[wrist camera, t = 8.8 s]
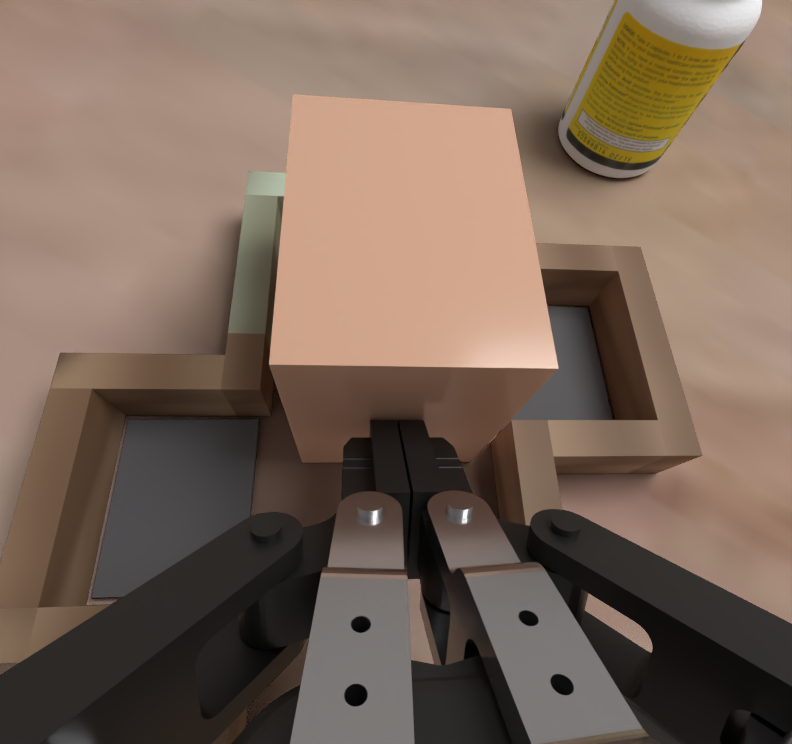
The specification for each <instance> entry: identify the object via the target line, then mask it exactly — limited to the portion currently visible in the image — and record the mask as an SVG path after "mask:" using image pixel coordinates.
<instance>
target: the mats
mask: <svg viewBox="0 0 792 744" xmlns="http://www.w3.org/2000/svg"><path fill="white" fill-rule="evenodd" d="M547 308H548V314H549V319H550V324H551V330H552V335H553V341H554V346H555V352H556V357H557V363H558V368H559V369H558V370H557V371H556V372H555V373H554V374H553V375H552V376H551V377H550V378H549V379H548V380H547V382H546V383H545V384H544V385H543V386H542V387H541V388H540V389H539V390H538V391H537V392H536V393H535V394H534V395H533V396H532V397H531V398H530V400H529V401H528V402H527V403H526V404H525V405H524V406H523V407H522V408H521V409H520V410H519V411H518V412H517V413H516V414H515V415H514V417H513V418H512V419H511V420H613V419H612V415H611V410H610V406H609V401H608V397H607V393H606V388H605V384H604V379H603V375H602V370H601V366H600V362H599V357H598V353H597V348H596V344H595V339H594V335H593V331H592V326H591V322H590V317H589V313H588V308H587V307H548V306H547ZM511 420H510V421H511ZM510 421H509V422H510ZM509 422H508V423H509ZM508 423H507V424H508ZM507 424H506V425H507ZM506 425H505V426H506ZM505 426H504V427H505ZM504 427H503V428H502V429H501V430H500V432H501V431H502V430H503V429H504ZM258 431H259V420H258V419H128V423H127V428H126V433H125V438H124V443H123V447H122V452H121V457H120V462H119V467H118V472H117V476H116V481H115V486H114V491H113V496H112V501H111V505H110V510H109V515H108V520H107V525H106V530H105V534H104V539H103V544H102V549H101V554H100V559H99V563H98V568H97V573H96V578H95V583H94V588H93V592H92V597H91V598H103V597H124V596H125V595H127V594H128V593H130V592H131V591H133V590H135V589H136V588H138V587H139V586H141V585H142V584H144V583H146V582H147V581H149V580H150V579H152V578H153V577H155V576H157V575H158V574H160V573H161V572H163V571H164V570H166V569H168V568H169V567H171V566H172V565H174V564H175V563H177V562H179V561H180V560H182V559H183V558H185V557H186V556H188V555H190V554H191V553H193V552H194V551H196V550H197V549H199V548H201V547H202V546H204V545H205V544H207V543H208V542H210V541H212V540H213V539H215V538H216V537H218V536H219V535H221V534H223V533H224V532H226V531H227V530H229V529H230V528H232V527H234V526H235V525H237V524H238V523H240V522H241V521H243V520H245V519H247V518H249V517H251V509H252V497H253V486H254V475H255V464H256V453H257V442H258Z"/></svg>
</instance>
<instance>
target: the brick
mask: <svg viewBox="0 0 792 744" xmlns="http://www.w3.org/2000/svg"><path fill="white" fill-rule="evenodd" d="M269 366H270V369H271V372H272V375H273V378H274V381H275V384H276V387H277V390H278V393H279V396H280V398H281V401H282V404H283V407H284V410H285V413H286V416H287V419H288V422H289V425H290V428H291V431H292V434H293V437H294V440H295V443H296V446H297V449H298V452H299V455H300V458H301V460H302V463H317V462H343V447H344V445H345V444H346V443H347V442H348V441H349V440H350V438H351V437H369V434H370V420H396V421H397V422H398V420H424V422H425V425H426V428H427V431H428V434H429V437H443V438H444V439H445V440H447V441H448V442H449V443H450V444H451V445H453V446H454V448H455V450H456V453H457V455H458V459H459V460H460V462H471V461H472V460H473V459H474V458H475V457H476V456H477V455H478V454H479V453H480V452H481V450H482V449H483V448H484V447H485V446H486V445H487V444H488V443H489V442H490V441H491V440H492V439H493V438H494V437H495V436H496V435H497V433H498V432H499V431H500V430H501V429H502V428H503V427H504V426H505V425H506V424H507V423H508V422H509V421H510V420H511V419H512V418H513V417H514V415H515V414H516V413H517V412H518V411H519V410H520V409H521V408H522V407H523V406H524V405H525V404H526V403H527V402H528V401H529V400H530V398H531V397H532V396H533V395H534V394H535V393H536V392H537V391H538V390H539V389H540V388H541V387H542V386H543V385H544V384H545V383H546V382H547V380H548V379H549V378H550V377H551V376H552V375H553V374H554V373H555V372H556V371H557V370H558V369H559V368H558V363H557V357H556V352H555V346H554V341H553V335H552V330H551V324H550V319H549V314H548V308H547V303H546V297H545V292H544V286H543V281H542V275H541V270H540V264H539V259H538V253H537V248H536V242H535V237H534V231H533V226H532V221H531V215H530V210H529V204H528V199H527V193H526V188H525V182H524V177H523V171H522V166H521V160H520V155H519V149H518V144H517V139H516V133H515V128H514V122H513V117H512V111H511V109H504V108H489V107H474V106H459V105H444V104H429V103H414V102H399V101H384V100H369V99H354V98H339V97H324V96H309V95H294V94H293V101H292V112H291V124H290V135H289V146H288V157H287V168H286V180H285V191H284V202H283V213H282V224H281V236H280V247H279V258H278V269H277V280H276V292H275V303H274V314H273V325H272V336H271V348H270V359H269Z"/></svg>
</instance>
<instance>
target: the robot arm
mask: <svg viewBox="0 0 792 744" xmlns="http://www.w3.org/2000/svg"><path fill="white" fill-rule="evenodd" d="M407 577H408V579H420V584H421V595H420V611H421V615H422V619H423V622H424V626H425V630H426V634H427V638H428V642H429V646H430V650H431V654H432V657H433V661H434V665H433V664H428V663H423V662H418V661H413V660H411V650H410V627H409V604H408V580H407ZM588 593H589V594H591V595H593V596H594V597H596V598H597V599H599V600H601V601H602V602H604V603H606V604H607V605H609V606H610V607H612V608H614V609H615V610H617V611H618V612H620V613H622V614H623V615H625V616H627V617H628V618H630V619H631V620H633V621H635V622H636V623H638V624H639V625H640V626H641V627H642V628H643V629H644V630H645V631H646V632H647V633H648V635H649V637H650V639H651V641H652V645H653V650H652V653H650V652H648V651H646V650H645V649H643V648H642V647H640V646H639V645H637V644H635V643H634V642H632V641H631V640H629V639H628V638H626V637H625V636H623V635H622V634H620V633H618V632H617V631H615V630H614V629H612V628H611V627H609V626H608V625H606V624H605V623H603V622H602V621H600V620H598V619H597V618H595V617H594V616H592V615H591V614H589V613H588V612H586V611H585V606H586V601H587V597H588ZM308 638H309V643H308V648H307V654H306V659H305V665H304V670H303V675H302V681H301V685H299V686H297V687H295V688H293V689H292V690H290V691H288V692H286V693H285V694H283V695H281V696H280V697H279V698H277V699H276V700H274V701H273V702H272V703H270V704H269V705H268V706H267V707H266V708H265V709H264V710H262V711H261V712H260V713H259V714H258V715H257V716H256V717H255V718H254V719H253V720H252V721H251V722H250V723H249V724H248V725H247V726H246V728H245V729H244V730H243V731H242V732H241V733H240V734H239V736H238V737H237V738H236V739H235V740H234V741H233V742H232V743H231V744H792V624H791V623H789V622H787V621H785V620H783V619H781V618H779V617H777V616H775V615H773V614H771V613H769V612H768V611H766V610H764V609H762V608H760V607H758V606H756V605H754V604H752V603H750V602H748V601H746V600H744V599H742V598H740V597H738V596H736V595H734V594H732V593H730V592H728V591H726V590H725V589H723V588H721V587H719V586H717V585H715V584H713V583H711V582H709V581H707V580H705V579H703V578H701V577H699V576H697V575H695V574H693V573H691V572H689V571H687V570H685V569H683V568H682V567H680V566H678V565H676V564H674V563H672V562H670V561H668V560H666V559H664V558H662V557H660V556H658V555H656V554H654V553H652V552H650V551H648V550H646V549H644V548H642V547H641V546H639V545H637V544H635V543H633V542H631V541H629V540H627V539H625V538H623V537H621V536H619V535H617V534H615V533H613V532H611V531H609V530H607V529H605V528H603V527H601V526H599V525H598V524H596V523H594V522H592V521H590V520H588V519H586V518H584V517H582V516H580V515H578V514H575V513H572V512H569V511H566V510H560V509H546V510H542V511H539V512H537V513H535V514H534V515H533V517H532V518H531V522H530V526H528V525H523V524H518V523H513V522H508V521H504V520H501V519H498V518H496V517H495V515H494V514H493V512H492V510H491V508H490V507H489V505H488V504H487V503H486V502H485V501H484V500H483V499H482V498H480V497H478V496H476V495H474V494H473V493H472V490H471V488H470V485H469V483H468V480H467V478H466V475H465V473H464V470H463V468H462V465H461V463H460V460H459V459H458V455H457V453H456V450H455V448H454V446H453V445H451V444H450V443H449V442H448V441H447V440H445V439H444V438H443V437H429V434H428V431H427V428H426V425H425V422H424V420H398V422H397V421H396V420H370V434H369V437H351V438H350V440H349V441H348V442H347V443H346V444H345V445H344V447H343V470H342V499H341V502H340V504H339V505H338V508H337V513H336V514H335V515H334V516H333V517H331V518H330V519H328V520H326V521H325V522H322V523H320V524H317V525H313V526H309V527H305V528H302V526H301V524H300V522H299V521H298V520H297V519H296V518H294V517H292V516H290V515H288V514H284V513H278V512H269V513H261V514H257V515H254V516H251V517H249V518H247V519H245V520H243V521H241V522H240V523H238V524H237V525H235V526H234V527H232V528H230V529H229V530H227V531H226V532H224V533H223V534H221V535H219V536H218V537H216V538H215V539H213V540H212V541H210V542H208V543H207V544H205V545H204V546H202V547H201V548H199V549H197V550H196V551H194V552H193V553H191V554H190V555H188V556H186V557H185V558H183V559H182V560H180V561H179V562H177V563H175V564H174V565H172V566H171V567H169V568H168V569H166V570H164V571H163V572H161V573H160V574H158V575H157V576H155V577H153V578H152V579H150V580H149V581H147V582H146V583H144V584H142V585H141V586H139V587H138V588H136V589H135V590H133V591H131V592H130V593H128V594H127V595H125V596H124V597H122V598H120V599H119V600H117V601H116V602H114V603H113V604H111V605H109V606H108V607H106V608H105V609H103V610H102V611H100V612H98V613H97V614H95V615H94V616H92V617H91V618H89V619H87V620H86V621H84V622H83V623H81V624H80V625H78V626H76V627H75V628H73V629H72V630H70V631H69V632H67V633H65V634H64V635H62V636H61V637H59V638H58V639H56V640H54V641H53V642H51V643H50V644H48V645H47V646H45V647H43V648H42V649H40V650H39V651H37V652H36V653H34V654H32V655H31V656H29V657H28V658H26V659H25V660H23V661H21V662H20V663H18V664H17V665H15V666H14V667H12V668H10V669H9V670H7V671H6V672H4V673H3V674H1V675H0V744H212V743H213V742H214V741H215V740H216V739H217V738H218V737H219V736H220V735H221V734H222V733H223V732H224V731H225V730H226V729H227V728H228V726H229V725H230V724H231V723H232V722H233V721H234V720H235V719H236V718H237V717H238V716H239V715H240V714H241V713H242V712H243V711H244V710H245V709H246V708H247V707H248V706H249V705H250V704H251V703H252V702H253V701H254V700H255V699H256V698H257V697H258V696H259V695H260V694H261V693H262V692H263V690H264V689H265V688H266V687H267V686H268V685H269V684H270V683H271V682H272V681H273V680H274V679H275V678H276V677H277V676H278V675H279V674H280V673H281V672H282V671H283V670H284V669H285V668H286V667H287V666H288V665H289V664H290V663H291V662H292V661H293V660H294V659H295V658H296V657H297V655H298V654H299V653H300V651H301V650H302V648H303V646H304V643H305V639H308Z"/></svg>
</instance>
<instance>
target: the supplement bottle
mask: <svg viewBox="0 0 792 744" xmlns="http://www.w3.org/2000/svg"><path fill="white" fill-rule="evenodd" d="M761 8H762V0H614V2H613V4H612V7H611V9H610V11H609V13H608V16H607V18H606V20H605V22H604V24H603V26H602V29H601V31H600V33H599V35H598V37H597V39H596V42H595V44H594V46H593V48H592V51H591V53H590V55H589V57H588V59H587V62H586V64H585V66H584V68H583V70H582V72H581V74H580V76H579V79H578V81H577V83H576V85H575V87H574V89H573V92H572V94H571V96H570V98H569V101H568V103H567V105H566V107H565V110H564V112H563V114H562V117H561V119H560V122H559V128H558V133H559V138H560V141H561V144H562V146H563V147H564V149H565V151H566V152H567V153H568V154H569V156H570V157H571V158H572V159H573V160H574V161H576V162H577V163H578V164H579V165H581V166H582V167H584V168H585V169H587V170H589V171H591V172H594V173H597V174H599V175H603V176H607V177H613V178H629V177H634V176H638V175H641V174H643V173H645V172H647V171H648V170H650V169H651V168H652V167H653V166H654V165H655V164H656V163H657V162H658V160H659V159H660V158H661V156H662V155H663V154H664V152H665V151H666V150H667V148H668V147H669V146H670V144H671V143H672V141H673V140H674V139H675V137H676V136H677V134H678V133H679V132H680V130H681V129H682V128H683V126H684V125H685V124H686V122H687V121H688V119H689V118H690V116H691V115H692V114H693V112H694V111H695V109H696V108H697V107H698V105H699V104H700V103H701V101H702V100H703V98H704V97H705V96H706V94H707V93H708V91H709V90H710V89H711V87H712V86H713V84H714V83H715V82H716V80H717V79H718V78H719V76H720V75H721V73H722V72H723V71H724V69H725V68H726V67H727V65H728V64H729V62H730V61H731V59H732V58H733V57H734V56H735V54H736V53H737V52H738V50H739V49H740V48H741V46H742V45H743V43H744V42H745V40H746V39H747V37H748V36H749V34H750V33H751V31H752V30H753V28H754V27H755V25H756V23H757V21H758V19H759V16H760V13H761Z"/></svg>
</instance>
